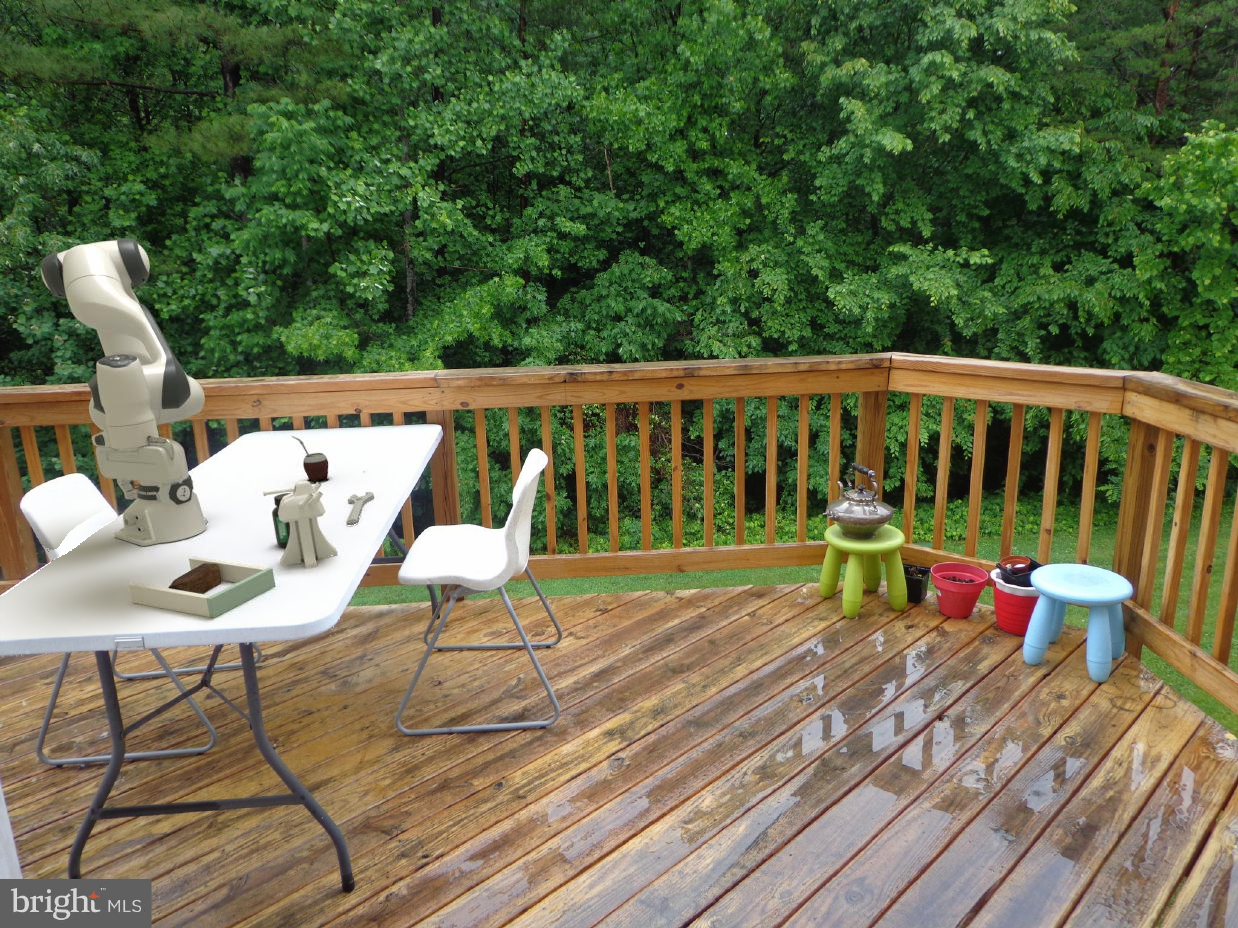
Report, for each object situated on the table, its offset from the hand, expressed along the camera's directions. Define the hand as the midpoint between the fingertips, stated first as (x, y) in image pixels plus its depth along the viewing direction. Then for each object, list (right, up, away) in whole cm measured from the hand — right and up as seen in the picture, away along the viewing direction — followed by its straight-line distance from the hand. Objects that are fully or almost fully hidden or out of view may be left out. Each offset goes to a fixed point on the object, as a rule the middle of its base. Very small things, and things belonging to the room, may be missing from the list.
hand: (147, 500), depth 180 cm
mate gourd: (+8, +2, +79) cm, 79 cm away
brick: (+10, -20, +1) cm, 22 cm away
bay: (+11, -19, 0) cm, 23 cm away
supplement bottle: (+20, -12, +27) cm, 36 cm away
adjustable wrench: (+28, -5, +50) cm, 57 cm away
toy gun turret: (+27, -14, +16) cm, 35 cm away
